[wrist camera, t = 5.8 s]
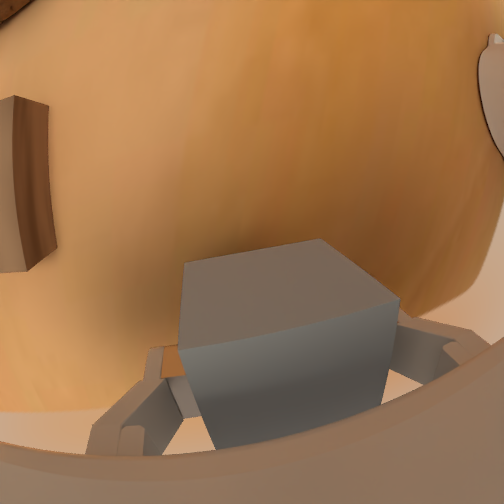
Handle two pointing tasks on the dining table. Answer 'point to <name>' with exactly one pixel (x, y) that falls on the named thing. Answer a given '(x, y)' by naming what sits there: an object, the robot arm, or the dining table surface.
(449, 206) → the dining table surface
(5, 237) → the walnut block
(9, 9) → the brown rounded block
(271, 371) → the slate cube
